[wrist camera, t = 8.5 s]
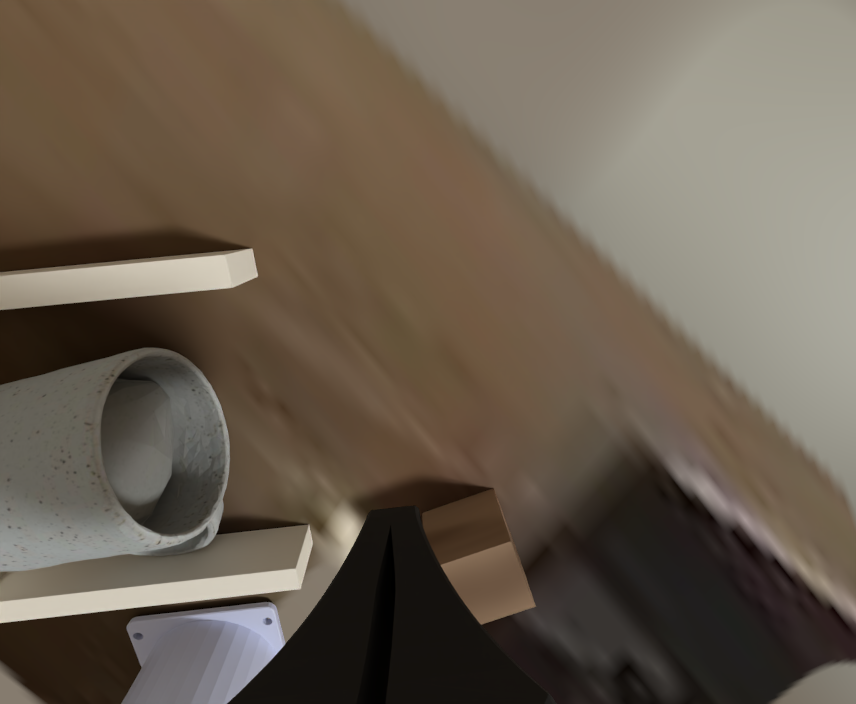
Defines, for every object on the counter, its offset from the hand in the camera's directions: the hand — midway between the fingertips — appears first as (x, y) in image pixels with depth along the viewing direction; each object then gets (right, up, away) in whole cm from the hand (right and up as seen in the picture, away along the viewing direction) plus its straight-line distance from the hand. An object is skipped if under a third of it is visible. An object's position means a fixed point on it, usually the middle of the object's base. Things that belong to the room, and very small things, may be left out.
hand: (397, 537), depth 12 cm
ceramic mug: (-12, +1, +9) cm, 15 cm away
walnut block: (+3, -4, +12) cm, 13 cm away
